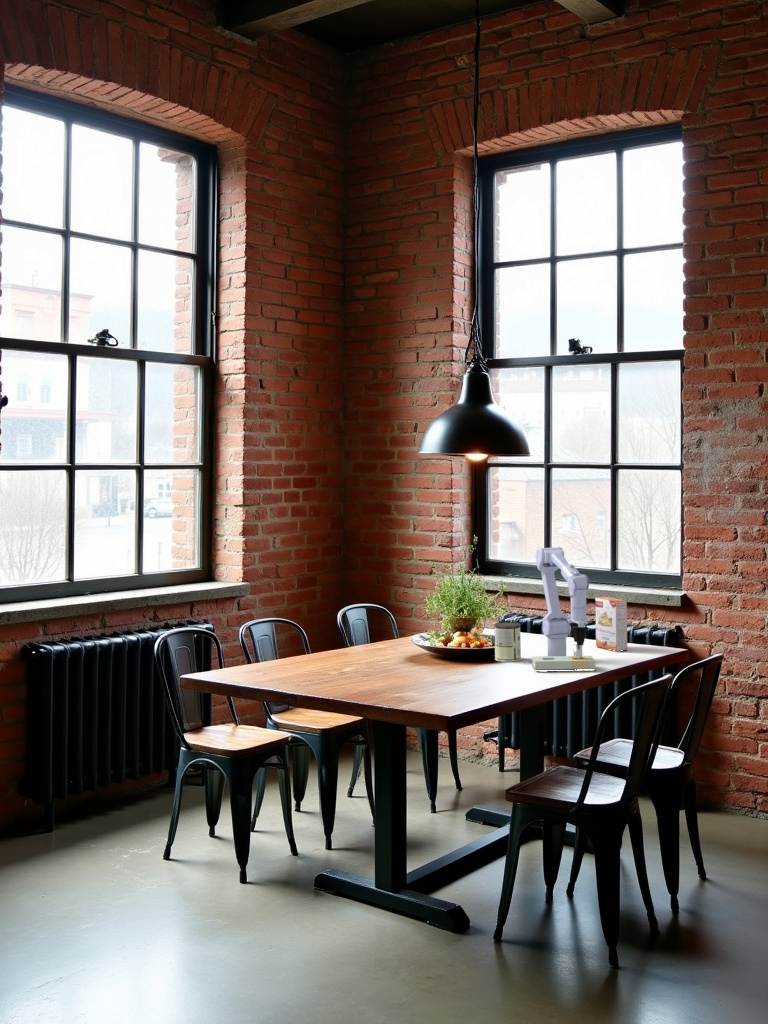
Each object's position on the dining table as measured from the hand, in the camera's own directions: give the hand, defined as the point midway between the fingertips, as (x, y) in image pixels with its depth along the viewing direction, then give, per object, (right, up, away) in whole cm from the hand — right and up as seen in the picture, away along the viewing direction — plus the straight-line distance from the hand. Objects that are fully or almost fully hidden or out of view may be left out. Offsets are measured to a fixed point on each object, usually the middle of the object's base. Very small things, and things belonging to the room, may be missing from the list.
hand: (578, 643), depth 406 cm
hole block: (-6, -10, -1) cm, 11 cm away
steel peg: (0, -8, -1) cm, 8 cm away
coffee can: (-24, -9, +21) cm, 33 cm away
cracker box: (+20, -7, +39) cm, 45 cm away
